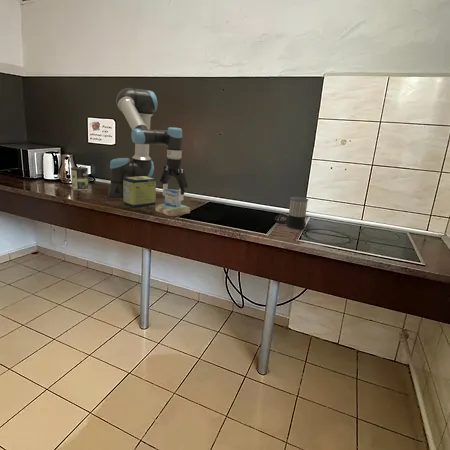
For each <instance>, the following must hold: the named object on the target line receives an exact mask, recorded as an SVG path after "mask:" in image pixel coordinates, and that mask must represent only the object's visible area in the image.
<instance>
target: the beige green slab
mask: <svg viewBox="0 0 450 450" xmlns="http://www.w3.org/2000/svg"><path fill="white" fill-rule="evenodd" d="M187 207H188V208H183V209H176V210H170V209H167V208H164V207H161V206H158V204H155V205H154V211H155V212H158V213H160V214H164V215H166V216H168V217H175V216H176V217H177V216H181V215H187V214H190V213H191V207H189V206H187Z"/></svg>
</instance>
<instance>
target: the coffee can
mask: <svg viewBox="0 0 450 450" xmlns="http://www.w3.org/2000/svg"><path fill="white" fill-rule="evenodd" d="M70 174H71V190H73V191H87V190H89V188H90V187H89V168H88V167H84V166H73V167H70Z"/></svg>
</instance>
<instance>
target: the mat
mask: <svg viewBox="0 0 450 450" xmlns="http://www.w3.org/2000/svg"><path fill="white" fill-rule="evenodd" d="M157 205H158V206H161V207H164V208H167V209H170V210H176V209H183V208H188V207H189V206H187V205H184V204H181V206H179V207H172V206H167V205H165V203H159V204H157Z"/></svg>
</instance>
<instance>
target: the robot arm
mask: <svg viewBox="0 0 450 450" xmlns="http://www.w3.org/2000/svg"><path fill="white" fill-rule="evenodd" d="M157 98H158V97H157V96H156V94H155V92H153V90H147V89H139V88H132V87H125V88H123V89H121V90H120V91H119V92H118V93H117V95H116V98H115V99H116V101H115V102H116V106H117V108H118V110H120V112H121V113H123V116H124V117H125V120H126V121H127V123H128V125H129V127H130V128H131V135H130V136H131V141H132V143H133V144H134V146H135V147H134V155H133V156H132V158H131V159H130V158H129V157H118V158H114V159H112V160H110V162H109V163H110V164H109V169H110V172H109V174H110V185H109V188H108V191H107V196H108V197H110V198H117V199H118V198H119V199H121V198H122V199H124V196H123V178H124V177H139V176H147V177H151V178H152V176H154V175H153V174H154V172H155V165H154V161H153V160H152V158H151V157H150V145H155V146H156V145H157V146H158V145H159V146H166V157H167V158H166V165H164V166H163V170H162V172H161V173H162V174H161V177H160V179H159V182H160V183H161V184H162V196H163V197H165V190H166V189H169V188H168V187H169V184H168V182H169V180H170V179H171V177H174V178H175V179H176V182H177V184H178V186H179V188H178V190H179V201H181V202H182V201H184V199H185V198H184V197H185V189H187V188H188V183H187V179H186V176H185V169H184V168H180V167H182V158H183V157H182V148H183V130H182V128H179V127H173V126H172V127H170V126H169V127H168V128H167V130H166V129H151V120H152V119H151V118H152V116H154V113H155V112H156V111H157V110H158V99H157Z"/></svg>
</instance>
